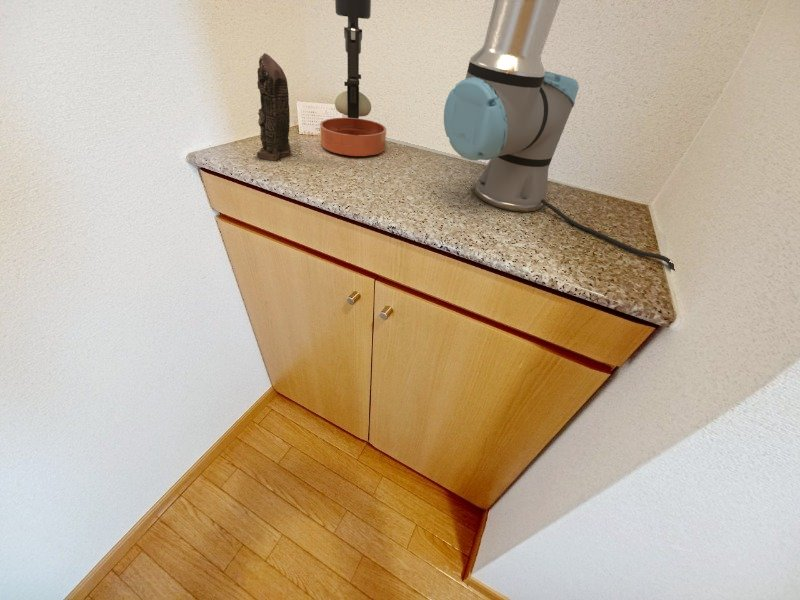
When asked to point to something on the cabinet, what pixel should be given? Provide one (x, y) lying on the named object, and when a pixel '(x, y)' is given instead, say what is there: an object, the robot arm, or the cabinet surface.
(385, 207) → the cabinet surface
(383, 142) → the bowl
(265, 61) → the statue
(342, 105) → the sea urchin shell
